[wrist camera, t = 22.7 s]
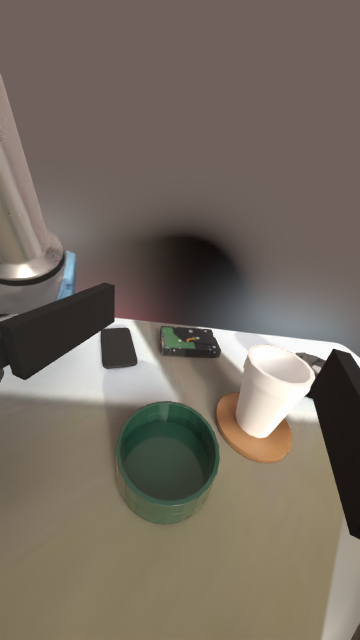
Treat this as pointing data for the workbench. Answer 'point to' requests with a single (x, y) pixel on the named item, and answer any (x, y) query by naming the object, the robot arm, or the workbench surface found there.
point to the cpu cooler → (312, 365)
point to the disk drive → (188, 342)
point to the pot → (166, 461)
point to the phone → (117, 348)
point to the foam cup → (270, 388)
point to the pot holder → (246, 444)
